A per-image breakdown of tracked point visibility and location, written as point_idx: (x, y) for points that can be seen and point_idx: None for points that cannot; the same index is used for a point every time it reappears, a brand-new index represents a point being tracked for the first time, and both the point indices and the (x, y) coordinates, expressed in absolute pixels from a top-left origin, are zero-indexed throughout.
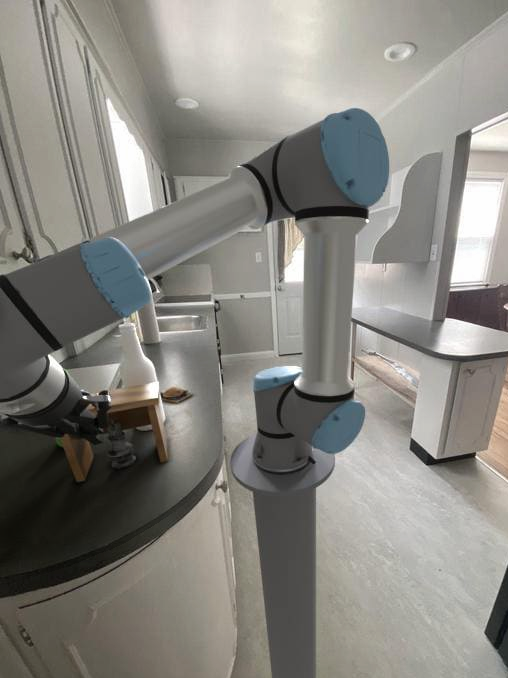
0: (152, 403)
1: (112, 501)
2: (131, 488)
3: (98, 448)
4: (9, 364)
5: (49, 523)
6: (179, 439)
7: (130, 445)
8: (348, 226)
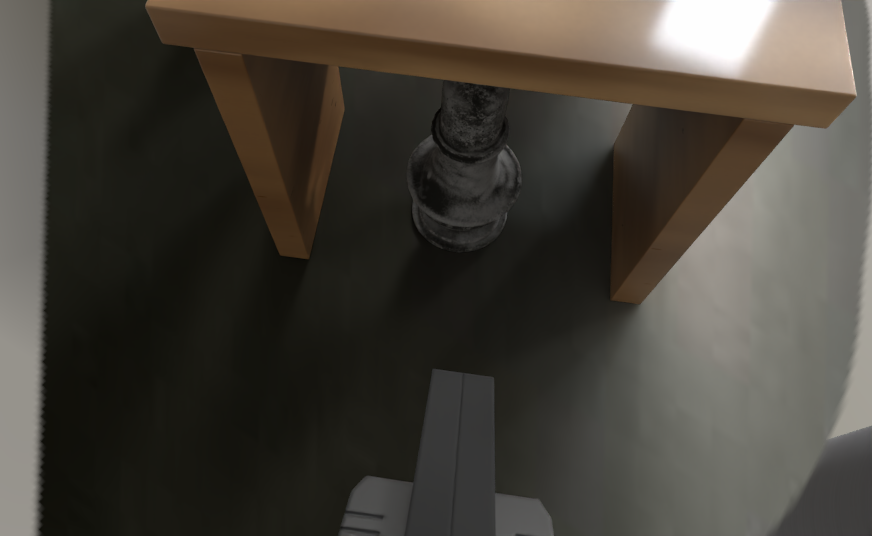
0: (788, 117)
1: (407, 465)
2: None
3: None
4: None
5: (178, 468)
6: None
7: (509, 172)
8: None
